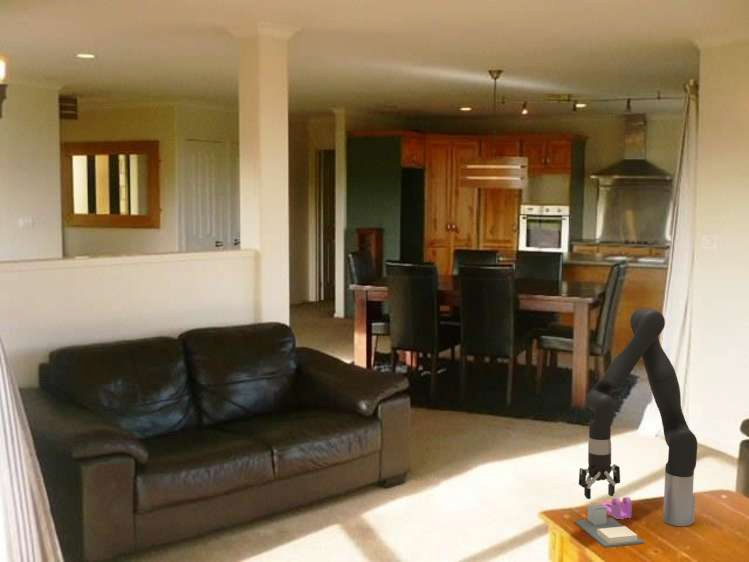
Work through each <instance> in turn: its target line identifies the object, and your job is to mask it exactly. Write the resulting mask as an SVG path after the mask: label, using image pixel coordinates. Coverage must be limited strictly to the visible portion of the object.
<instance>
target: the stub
mask: <svg viewBox="0 0 749 562" xmlns="http://www.w3.org/2000/svg"><path fill="white" fill-rule="evenodd" d="M607 518H608V517H607V508H605V507H604V506H603V505H601V503H599V502H598V503H588V504H587V520H589V521H590V522H591V523H593V524H594V525H601V524H606V521H607Z"/></svg>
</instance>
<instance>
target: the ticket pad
mask: <svg viewBox="0 0 749 562" xmlns="http://www.w3.org/2000/svg"><path fill="white" fill-rule="evenodd" d="M574 524H575V525H576V526H578V527H579V528H581V530H583V531H584V532H585V533H587V534H588V535H589V536H590V538H592V539H593V540H595V541H596V542H598V543H599V544H600V545H601V546H603V548H611V547H612V548H613V547H622V546H623V545H625V546H631V545H642V544H645V541H644V540H642V539H641V538H640V537H639V536H638V534H637V533H635V532H634V531H632V530H631V529H629V527H627V526H626V525H623V524H621V523H620V522H619V521H618V520H616V519H615V518H613V517H612V516H610V517H607V521H606V524H601V525H594V524H593V523H591V522H590V521H589V520H588V519H581V520H580V519H579V520H574ZM623 547H624V546H623Z"/></svg>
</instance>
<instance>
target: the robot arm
mask: <svg viewBox="0 0 749 562" xmlns="http://www.w3.org/2000/svg"><path fill="white" fill-rule="evenodd" d="M629 320H630V321H629V322H630V328H631V330H632V334H633V336H632V338H631V339H630V341H629V342H628V344H627V345H626V346H625V347H624V348H623V349H622V350H620V351H621V352H619V353H618V354H617V356H615V357H614V359H613V360H612V361H611V363H610V364H609V366H608V367H607V369H606V371H605V372H604V374H603V376H602V377H601V379H600V380H598V382H597V383H595V385H594V386H592V388H591V389H590V390H589V392H588V393H587V396H586V399H585V405H586V407H587V408H588V409H589V410H591V411H593V412H594V418H593V419H591V420H590V422H589V423H588V424H589V426H588V443H587V447H588V449H587V450H588V451H587V453H588V454H587V456H588V457H587V460H588V461H587V462H588V467H587V468H583V467H580V468H579V471H578V472H579V473H578V474H579V475H578V486H580V487H582V488H584V491H583V492H584V493H583V494H584V495H583V496H584V497H585V498H586V499H587V500H591V498H592V496H591V495H592V494H591V493H592V488H591V487H592V485H593V484H595V482H600V481H607V483H608V485H607V487H608V489H607V492H608V496H610V497H614V495H615V493H616V491H615V490H616V487H615V486H616V485H617V484H620V483H621V469H620V466H618V465H617V464H613V465H612V441H611V432H612V431H611V430H612V429H611V428H612V427H611V425H612V422H613V419H614V414H615V402H614V399H613V398H612V396H611V395H612V393H614V392H619V391H620V390H622V387H623V386H624V384H625V382H626V381H627V379H628V378H629V376H630V374H631V373H632V371H633V370H634V368H635V367H636V365H637V364H638V362H639V361H640V359H641V358H642V361H643V365H644V369H645V372H646V376H647V381H648V383H649V387H650V389H651V393H652V397H653V400H654V402H655V404H656V407H657V410H658V412H659V414H660V415H659V416H660V419H661V422H662V423H661V424H662V428H663V429H662V430H663V434H664V435H663V436H664V440H665V444H666V445H667V447H668V455H667V456H668V457H667V462H666V463H665V467H664V468H665V469H664V470H665V471H664V472H665V473H664V492H663V493H664V494H663V514H662V517H663V518H662V520H663V522H664V523H666V524H668V525H670V526H674V527H675V526H676V527H688V526H690V525H692V524H695V512H696V511H695V509H696V495H694V480H695V477H694V475H695V470H696V466H697V459H698V440H697V439H698V438H697V436H696V435H695V434H694V432H693V431H692V430H691V429H690V428H689V426H688V425H689V424H687V421H686V418H685V415H684V413H683V409H682V404H681V403H682V402H681V401H682V397H681V387H680V384H679V380H678V376H677V373H676V370H675V368H674V366H673V363H672V361H671V360H670V359H669V357H668V355H667V354H666V352H665V351H664V349H663V347H662V344H661V342H660V339H659V337H660V336H659V335H661V333H662V332H663V330H664V328H665V326H666V325H665V324H666V319H665V317H664V315H663V314H662V313H661V312H660V311H658V310H655V309H653V308H652V309H651V308H637V309H635V310H634V311H633V312H632V314H631V316H630V319H629ZM611 472H612V475H613V476H611Z"/></svg>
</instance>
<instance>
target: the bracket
mask: <svg viewBox="0 0 749 562" xmlns="http://www.w3.org/2000/svg"><path fill="white" fill-rule="evenodd" d="M600 504H601V505H603V506H604V507H605V508H607V513H608V515H609V516H610V515H611V516H610V517H612V516H613V517H614V518H613V517H612V518H613V519H615V518H616V519H621V520H627V519H626V518H629V519H632V511H633V510H632V508H633V506H632V505H633V502H632V499H631V498H630V497H629V496H626V497H625V496H624V497H623V498H622V502H621V500H620V498H618V497H617V498H616V497H615V498H612V500H611V502H608V501H605V502H604V501H603V502H601V503H600ZM624 518H625V519H624ZM616 519H615V520H616Z"/></svg>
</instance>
